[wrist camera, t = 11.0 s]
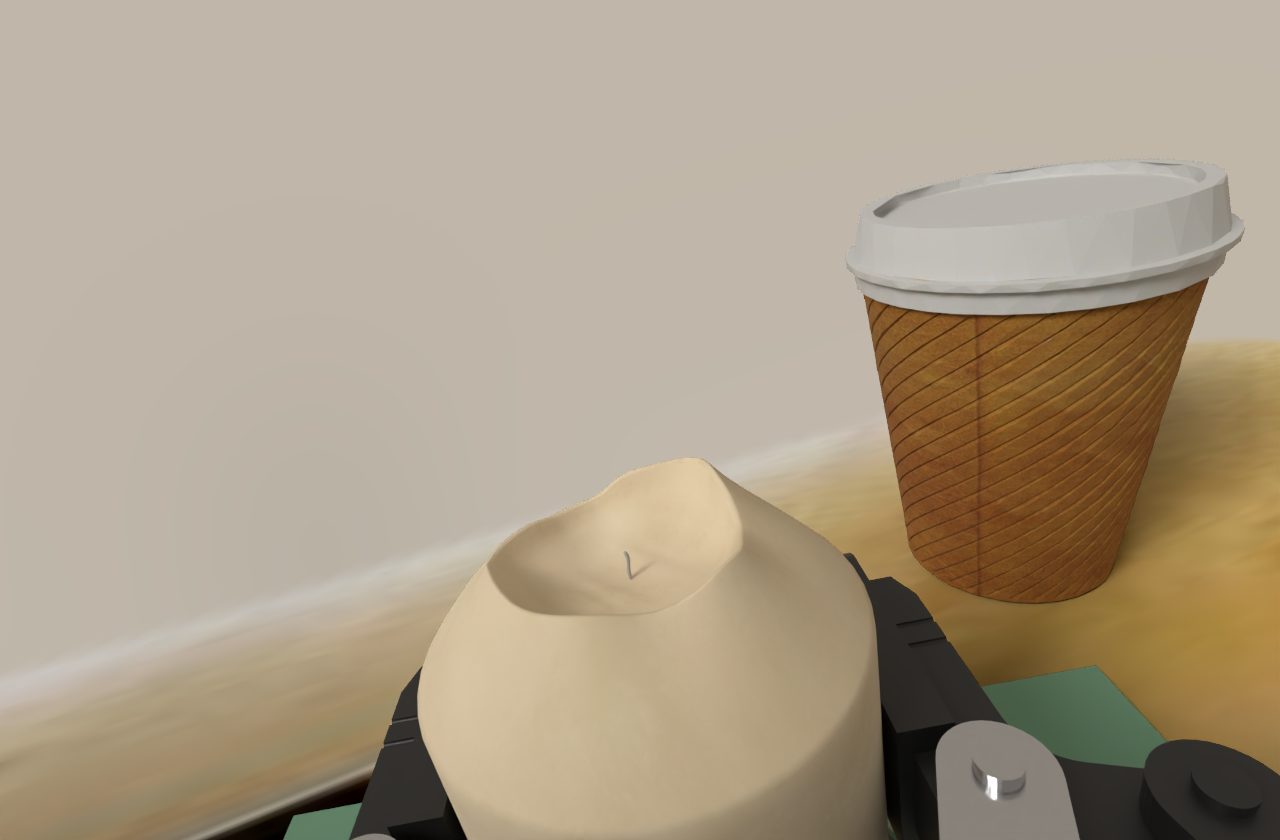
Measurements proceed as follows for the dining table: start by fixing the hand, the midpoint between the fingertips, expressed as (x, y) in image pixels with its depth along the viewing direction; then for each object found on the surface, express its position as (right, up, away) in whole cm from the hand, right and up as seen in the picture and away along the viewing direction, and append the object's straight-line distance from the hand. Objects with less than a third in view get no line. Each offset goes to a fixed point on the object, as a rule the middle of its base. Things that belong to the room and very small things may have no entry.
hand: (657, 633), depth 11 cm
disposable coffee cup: (+13, -1, +12) cm, 17 cm away
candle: (+1, -7, 0) cm, 7 cm away
